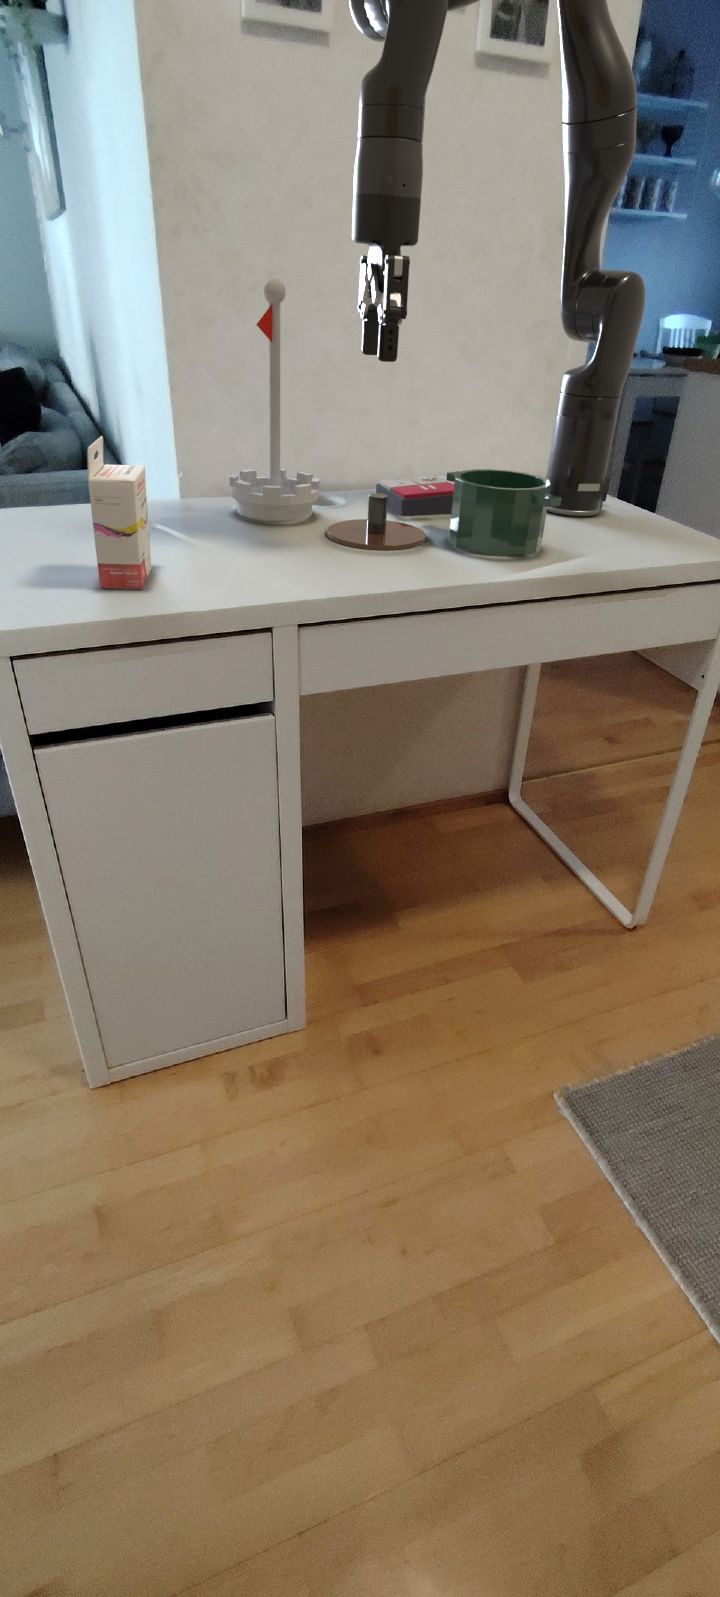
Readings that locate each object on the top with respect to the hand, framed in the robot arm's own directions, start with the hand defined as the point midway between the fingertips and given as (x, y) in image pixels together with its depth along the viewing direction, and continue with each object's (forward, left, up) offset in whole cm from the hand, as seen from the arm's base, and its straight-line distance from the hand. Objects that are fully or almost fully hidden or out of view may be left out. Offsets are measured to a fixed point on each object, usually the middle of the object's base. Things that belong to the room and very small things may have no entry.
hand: (378, 358), depth 102 cm
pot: (-15, +10, -23) cm, 29 cm away
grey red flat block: (-23, -10, -23) cm, 34 cm away
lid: (-3, -1, -22) cm, 22 cm away
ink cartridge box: (+33, -4, -23) cm, 41 cm away
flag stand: (+1, -19, -23) cm, 30 cm away
